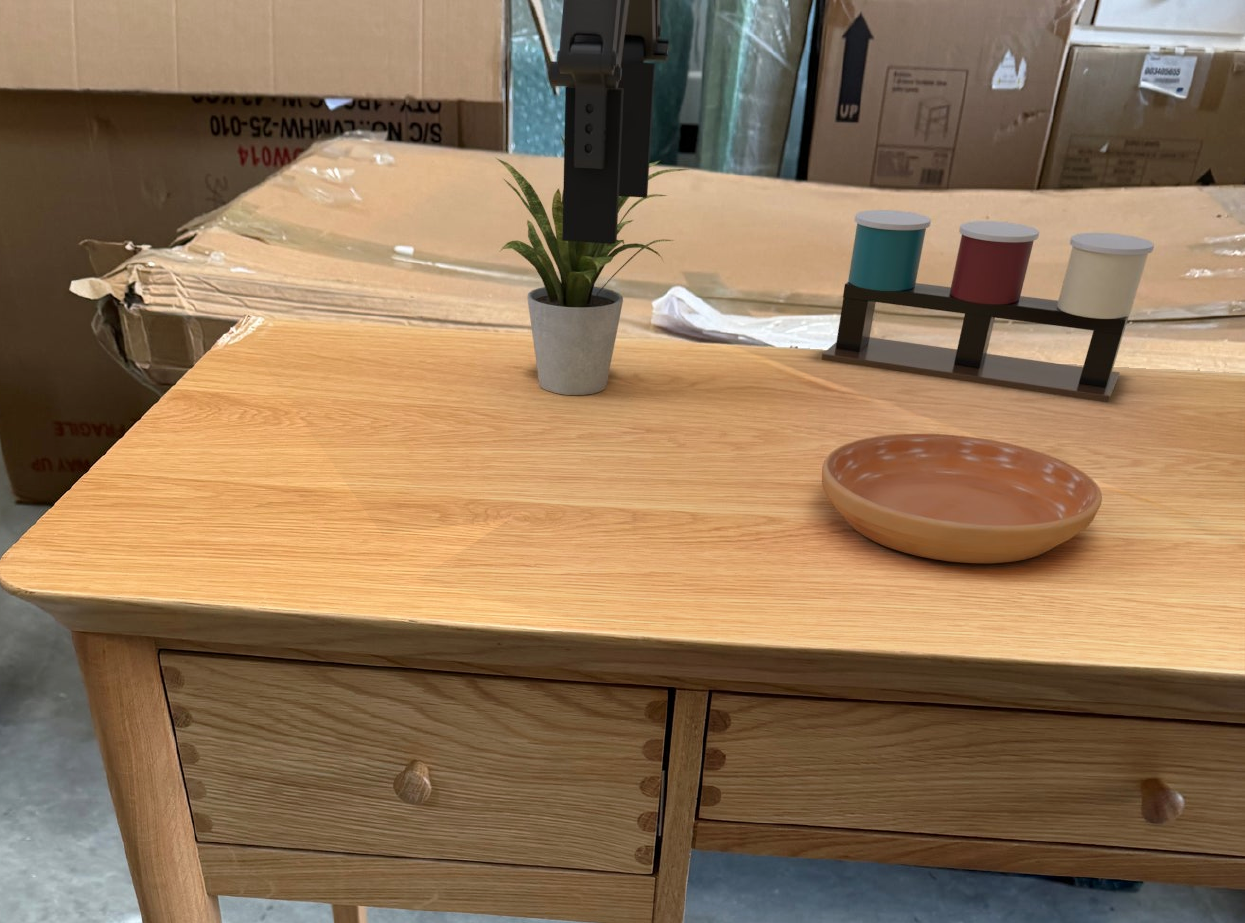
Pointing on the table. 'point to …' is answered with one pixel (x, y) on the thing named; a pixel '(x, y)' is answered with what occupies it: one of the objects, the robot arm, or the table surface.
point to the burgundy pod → (992, 262)
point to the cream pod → (1103, 275)
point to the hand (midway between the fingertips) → (608, 217)
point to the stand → (978, 343)
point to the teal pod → (887, 249)
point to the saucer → (958, 496)
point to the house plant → (571, 298)
